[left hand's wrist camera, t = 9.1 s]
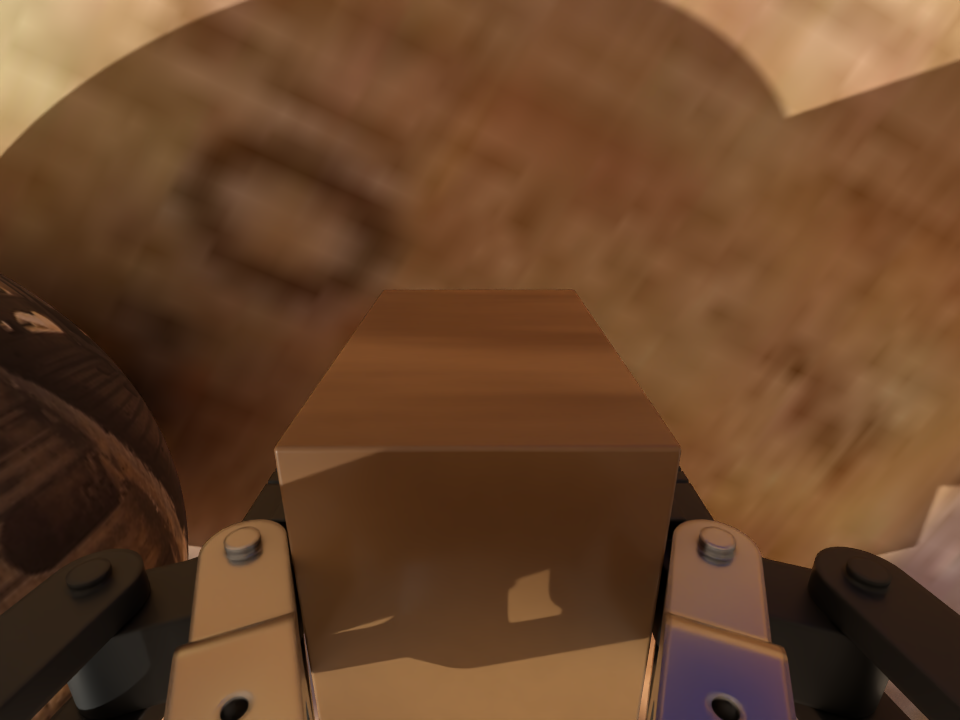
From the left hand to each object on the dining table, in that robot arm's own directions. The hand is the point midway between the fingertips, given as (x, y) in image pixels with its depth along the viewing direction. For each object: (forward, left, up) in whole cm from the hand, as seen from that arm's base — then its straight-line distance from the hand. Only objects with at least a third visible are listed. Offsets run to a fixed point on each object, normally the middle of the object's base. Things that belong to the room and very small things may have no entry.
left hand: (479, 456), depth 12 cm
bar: (+9, +2, -4) cm, 10 cm away
